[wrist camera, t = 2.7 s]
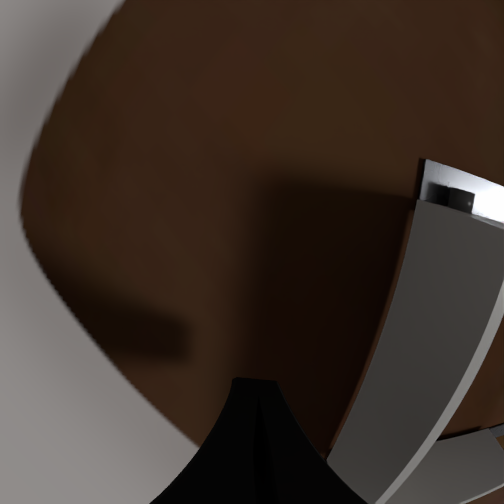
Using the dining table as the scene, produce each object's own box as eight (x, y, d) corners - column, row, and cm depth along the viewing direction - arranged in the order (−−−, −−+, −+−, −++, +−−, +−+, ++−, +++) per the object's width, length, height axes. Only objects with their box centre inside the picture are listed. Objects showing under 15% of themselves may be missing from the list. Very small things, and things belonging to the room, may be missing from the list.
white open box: (479, 439, 14) (508, 486, 10) (322, 465, 14) (337, 540, 9) (572, 233, 10) (633, 261, 5) (419, 178, 10) (522, 201, 5)
